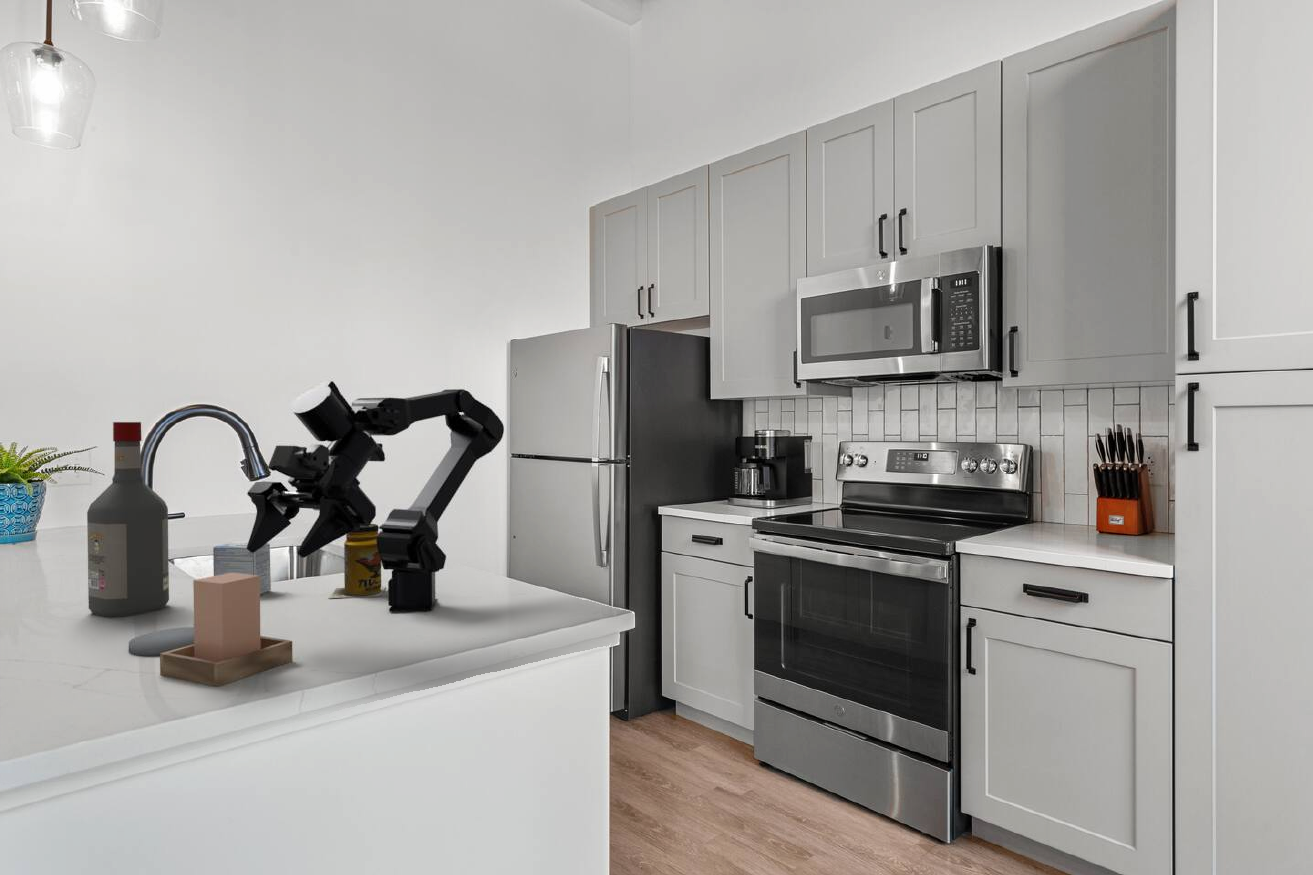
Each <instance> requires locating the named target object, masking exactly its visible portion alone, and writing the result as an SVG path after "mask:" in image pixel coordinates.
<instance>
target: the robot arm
mask: <svg viewBox="0 0 1313 875" xmlns="http://www.w3.org/2000/svg"><path fill="white" fill-rule="evenodd" d="M290 410H291V411H292V413H293V414H294V415H295V416H296V417H297V419H298V420H299V421H300V422H301V423H302V425H303V426H304V427H305V428H306V429H307V430H308V431H309V433H310V434H311V435H312V437H313V438H314V439H315V440H316V441H318V442H330V443H329V444H328V446H325V445H323V444H318V443H317V444H315V443H314V444H313V443H312V444H311V445H309V446H308V447H306V446H298V445H280V444H279V445H275V448H274V450H273V453H272V456H271V459H270V461H269V464H268V466H267V468H268V469H269V470H270V471H274V472H275V471H276V472H278V473H280V474H282V475H284V476H286V477H288V478H289V479H287V482H288V484H289V485H290V487H292V488H295V489H296V490H295V491H289V490H288V488H287V487H286V486H285V485H284V484H283V483H282V482H281V481H256V482H255V483H254V484H253V485H252V486H251V487H250V488H249V490H247V496H248V497H249V498H250V499H251V502H252V503H253V504H254V506H255V509H256V515H255V520H254V523H253V527H252V530H251V533H250V536H249V539H248V542H247V543H248V545H247V550H249V551H250V552H251V553H254V552H255V551H257V550H258V549H260V548H261V547H263V546H264V545H265V544H266V543H269V542H270V541H272V539H274V538H276V536H278V535H279V534H280V533H281V532H283V531H284V530H285V529H286V528H287V527H289V526H290V525H291V524H292V522H291V520H292V519H294V518H296V516H297V515H298V514H299V513H300V509H312V510H314V511H318V512H319V514H318V517H317V518H316V520H315V522H314V523H313V525H312V527H311V528H310V530H309V532H308V533H307V535H306V536H305V537H304V539H303V541H302V542H301V544H300V546H299V548H298V550H297V555H298V556H299V557H300V558H303V559H304V558H306V557H308V556H310V555H311V554H314V553H315V552H317V551H318V550H320V549H323V547H326V546H327V545H329V544H330V543H332V542H334V541H336V540H338V539H340V538H342V537H344V536H346V535H347V534H348V533H350V532H352V531H354V530H359V529H360V527H361V526H367V527H369V525H370V524H372V522H373V520H374V519H375V518H376V514H377V511H376V509H377V506H376V505H375V503H373V501H372V500H371V499H370V497H368V495H367V494H366V493H365V491H364V490H363V489H362V488H361V487H360V485H361V481H360V480H359V479H358V477H359V475H360V474H361V472H362V470H363V469H364V468H365V467H366V465H367V464H368V462H385V461H386V456H385V455H386V454H385V452H384V449H383V444H382V443H377V441H376V440H375V439H374V438H373V436H381V437H382V436H385V437H387V436H388V437H389V436H396V435H397V434H399V433H402V432H403V431H406V430H407V429H409V427H410V426H411V425H412V424H413V423H416V422H420V421H425V420H429V419H433V418H439V417H443V416H445V417H444V418H445V425H446V426H447V428H448V429H449V430H450V434H449V435H450V445H451V446H450V448H449V449H448V451H447V452H446V454H445V455H444V456H443V458H442V459H441V461H440V463H439V464H438V465H437V467H436V469H435V470H434V471H433V472H432V475H431V476H430V478H429V479H428V480H427V482H426V484H425V485H424V486H423V488H422V489H421V490H420V492H419V493H418V495H417V497H416V499H414V501H413V503H412V504H411V506H409V508H406V509H403V508H402V509H401V508H393V509H392V510H391V511H390V512H389V513H388V515H387V518H386V519H385V521H384V523H382V524H381V525H380V526H378V527H379V529H378V530H380V531H379V532H378V533H379V535H378V536H377V540H376V542H377V549H378V553H379V555H380V559H381V566H382V568H383V570H386V571H387V570H391V578H390V579H389V580H388V581H387V582H388V583H387V586H388V587H387V588H388V596H387V597H388V601H387V602H388V603H387V604H388V606H389V608H388V612H390V613H395V612H399V613H401V612H428V611H429V612H430V611H432V610H433V609H434V607H435V606H436V605H437V603H438V601H439V599H438V598H436V573H438V572H440V570H444V568H445V565H446V560H447V555H446V554H445V553H444V551H443V550H442V549H441V547H439V545H438V544H437V541H438V540H439V529H438V528H439V527H438V522H439V520H440V519H441V517H442V515H443V514H444V512H445V511H446V509H447V508H448V506H449V505H450V503H451V502H452V500H453V498H454V496H455V494H456V493H457V492H458V490H459V488H460V487H461V486H462V483H463V482H464V480H465V479H466V477H467V475H468V474H469V472H470V471H471V469H472V468H473V467H474V465H475V463H476V462H477V461H478V460H479V459H481V458H483V457H485V456H486V455H488V454H490V453H492V451H493V450H494V449H495V448H496V447H497V445H499V444H500V442H501V441H502V439H503V436H504V434H505V433H504V432H505V431H504V430H505V426H504V424H503V422H502V420H501V419H500V417H499V416H498V415H497V414H496V413H495V412H494V410H493V409H492V408H491V407H489V406H488V405H486V404H484V403H482V402H481V401H479V400H477V399H476V398H475V397H474V396H473V394H472V393H471V392H470V391H468V390H466V389H465V388H463V389H461V388H460V389H459V388H458V389H453V388H452V389H450V388H449V389H443V390H441V391H437V392H432V393H428V394H421V395H417V396H411V397H410V396H409V397H405V398H400V397H363V398H362V397H360V398H356V399H355V400H353V401H352V402H351V404H350V403H348V401H347V400H346V398H345V397H344V395H343V394H342V393H341V392H340V390H339V387H338V385H336V384H335V382H334V381H332V380H331V381H330V380H328V381H327V380H326V381H325V380H324V381H321V382H320V383H319V384H318V385H317V386H315V387H311V388H310V389H308V390H306V391H305V392H303V393H302V394H301V395H297V396H296V398H294V400H293V401H292V402H291V406H290ZM460 413H463V414H460Z"/></svg>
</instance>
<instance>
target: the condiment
mask: <svg viewBox="0 0 1313 875" xmlns="http://www.w3.org/2000/svg"><path fill="white" fill-rule="evenodd" d="M379 527H380V526H378V524H376V523H371V524H370V525H369V527H367V526H361V527H360V529H359V530H354V531H352V532H350V533H348V534H346V535H345V537H346V539H345V542H344V543H343V544H344V546H343V551H344V552H343V555H344V558H343V564H344V567H343V568H344V572H343V575H344V586H343V587H337V588H335V589H334V591H333V592H332V594H330V595H329V597H328V599H339V598H341V599H342V598H345V599H346V598H371V597H372V598H373V597H380V596H381V597H382V594H383V593H384V591H385V589H386V586H382V562H381V559H380V555H379V553H378V549H377V542H376V540H377V536H378V535H379V533H380V532H379V530H380V529H379Z"/></svg>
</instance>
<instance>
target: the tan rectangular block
mask: <svg viewBox="0 0 1313 875" xmlns="http://www.w3.org/2000/svg"><path fill="white" fill-rule="evenodd" d="M192 583H193V584H192V585H193V627H194V657H195V658H199V659H204V660H210V661H215V662H221V661H224V660H228V659H231V658H234V657H237V656H240V655H244V654H247V653H250V652H253V651H256V650H260V649H261V642H260V636H261V595H260V576H257V575H249V574H240V573H227V574H222V575H217V576H214V575H213V576H208V577H203V578H197V579H194V580H193V582H192Z"/></svg>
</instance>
